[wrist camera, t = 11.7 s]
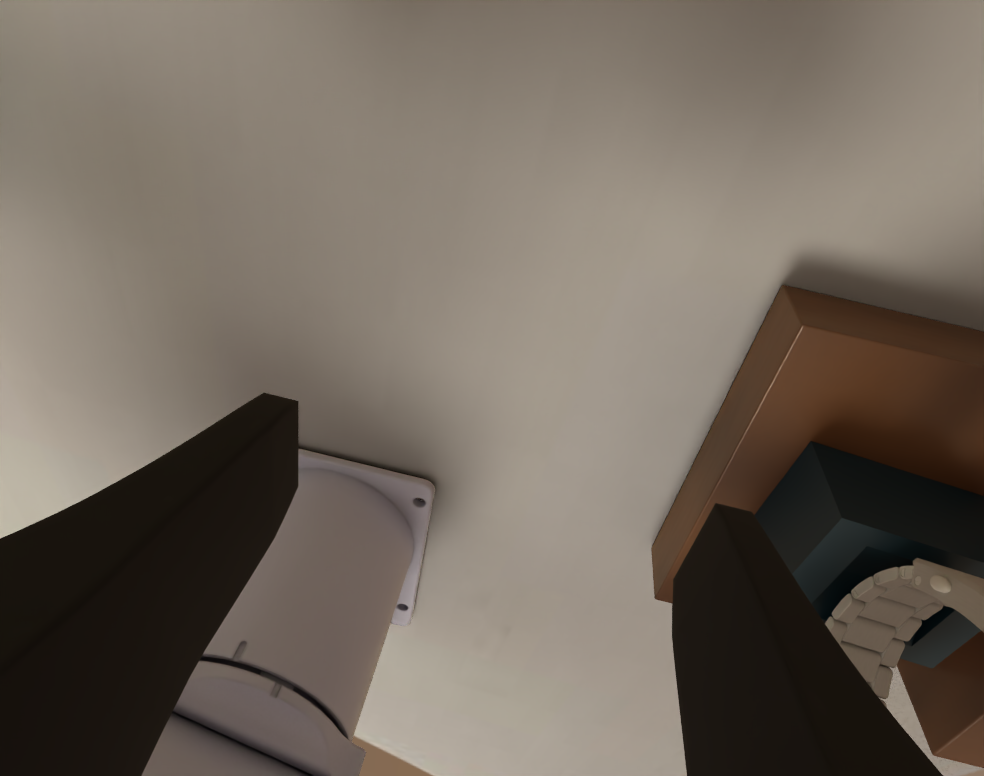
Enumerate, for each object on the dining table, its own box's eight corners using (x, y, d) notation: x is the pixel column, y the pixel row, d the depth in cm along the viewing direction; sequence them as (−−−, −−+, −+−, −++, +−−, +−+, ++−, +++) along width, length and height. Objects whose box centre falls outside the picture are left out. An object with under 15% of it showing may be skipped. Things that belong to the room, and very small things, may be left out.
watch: (712, 570, 22) (778, 984, 13) (845, 394, 18) (1084, 850, 9) (862, 617, 23) (1026, 1057, 14) (1033, 455, 18) (1456, 963, 9)
